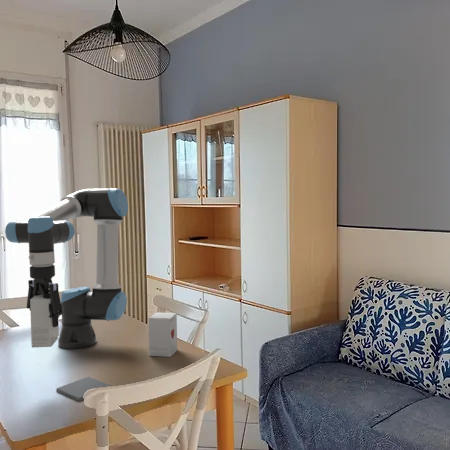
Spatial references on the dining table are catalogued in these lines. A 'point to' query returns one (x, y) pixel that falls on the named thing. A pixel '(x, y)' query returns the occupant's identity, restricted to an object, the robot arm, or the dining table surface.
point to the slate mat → (80, 387)
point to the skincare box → (40, 322)
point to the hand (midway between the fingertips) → (45, 333)
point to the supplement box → (163, 334)
